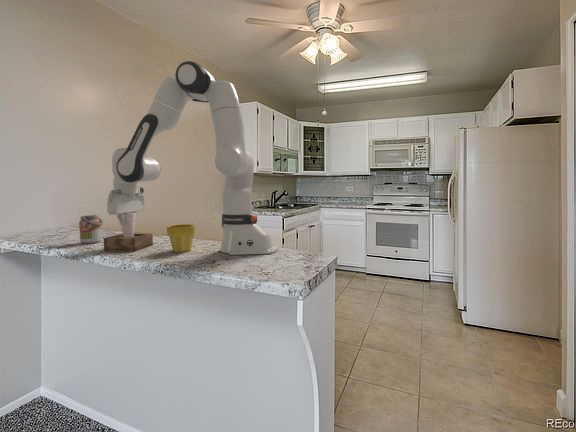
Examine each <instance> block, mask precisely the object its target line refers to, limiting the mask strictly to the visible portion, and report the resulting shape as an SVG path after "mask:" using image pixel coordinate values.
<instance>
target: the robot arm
mask: <svg viewBox="0 0 576 432" xmlns="http://www.w3.org/2000/svg"><path fill="white" fill-rule="evenodd" d="M235 88H236V87H235V86H234V84H233V83H231V82H230V81H228V80H217V79H216V78H215V77H214V76H213V75H212V74H211V72H209V71H208V70H207V69H206V68H204V67H203V66H202V64H199V63H198V62H196V61H195V62H194V61H190V60H187V61H186V60H185V61H183V62H181V63H179V65H177V68H176V71H175V76H166V77H165V78H164V79H163V80H162V82H161V83H160V85H159V86H158V89H157V90H156V92H155V95H154V97H153V99H152V103H151V105H150V107H149V109H148V111H147V113H146V114H145V115H144V116H143V117H142V119H141V120H140V121H139V124H138V125H137V127H136V129H135V131H134V134H133V136H132V137H131V139H130V142H129V144H128V146H127V147H126V148H125V147H124V148H123V147H122V148H118V149H115V150H114V152H113V154H112V157H111V162H112V163H111V168H112V173H113V180H112V182H113V189H112V190H110V192H109V193H108V197H107V203H106V205H107V206H106V209H107V210H106V212H107V214H109V215H110V216H112V215H116V217H117V219H118V220H119V225H120V226H121V225H125V224H126V220H125V219H124V217H123V216H124V213H136V216H135V223H136V222H137V215H138V212H141V211H144V210H145V207H146V204H145V202H146V199H145V198H146V197H145V195H144V194H145V191H146V190H145V188H144V187H142V186H141V185H139V184H138V182H151V181H155V180H157V179H158V178H159V176H160V174H161V165H160V163H159V161H158V160H157V159H155V158H153V157H150V156H147V152H148V149H149V147H150V146H151V144H152V141H153V139H154V138H155V137H156V136H158V135H159V134H161V133H163V132H168V131H171V130H173V129H175V128H176V126H177V125H178V123H179V122H180V120H181V118H182V115H183V112H184V110H185V106H186V104H187V102H189V101H191V100H192V101H193V102H196V103H198V102H199V103H209V104H208V105H209V108H210V112H211V119H212V124H213V129H214V134H215V135H214V136H215V156H214V165H215V168H216V169H217V171H218V172H219V173H221V174H222V175H223V176H225V181H224V186H223V187H224V188H223V189H222V190H223V191H222V193H221V194H222V214H221V227H222V236H221V238H222V239H221V243H220V248H219V251H220V252H222V253H226V254H228V255H231V256H236V255H237V256H238V255H239V256H240V255H241V256H242V255H269V254H274V253H276V252H277V251H278V249H279V247H278V245H277V244H273V238H272V235H271V233H270V232H269V231H268V230H267V229H265V228H264V227H262V226H261V225H260V224H259V223H258V214H257V215H256V214H254V213H253V207H252V195H253V194H252V193H253V190H252V189H253V184H254V183H253V182H254V171H255V170H254V169H255V160H254V158H253V156H252V154H250V153H249V151H247V150H246V144H245V130H246V129H245V124H244V119H243V115H242V110H241V104H240V101H239V97H238V95H237V91H236V89H235Z"/></svg>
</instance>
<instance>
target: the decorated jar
mask: <svg viewBox="0 0 576 432" xmlns="http://www.w3.org/2000/svg"><path fill="white" fill-rule="evenodd" d="M102 225H104V221H103V220H102V219H101V218H99V215H97V214H96V215H95V214H94V215H93V214H92V215H81V216H80V220H79V222H78V227H79V239H80V241H79V242H80V244H82V245H93V244H99V243H101V241H102V240H103V239H102Z"/></svg>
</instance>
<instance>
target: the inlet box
mask: <svg viewBox="0 0 576 432" xmlns="http://www.w3.org/2000/svg"><path fill="white" fill-rule="evenodd" d="M153 236H154V235H153V233H150V232H148V233H147V232H145V233H144V232H143V233H142V232H140V233H139V232H134V237H130V238H124V237H123V232H122V233H118V234H115V235H111V236H108V237H107V236H106V237H103V239H102V240H103V251H104V252H138V251H140V250H143V249H145V248H148V247H151V246H154V240H153Z"/></svg>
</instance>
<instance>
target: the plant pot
mask: <svg viewBox="0 0 576 432" xmlns="http://www.w3.org/2000/svg"><path fill="white" fill-rule="evenodd" d="M194 234H196V225H195V224H192V223H191V224H187V223H186V224H185V223H184V224H173V225H172V224H171V225H168V226H166V235H167V236H169V240H170V243H171V244H170V245H171V248H172V251H173V252H174V253H175V252H176V253H183V252H185V253H186V252H190V251H192V245H193V239H194V236H195V235H194Z"/></svg>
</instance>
